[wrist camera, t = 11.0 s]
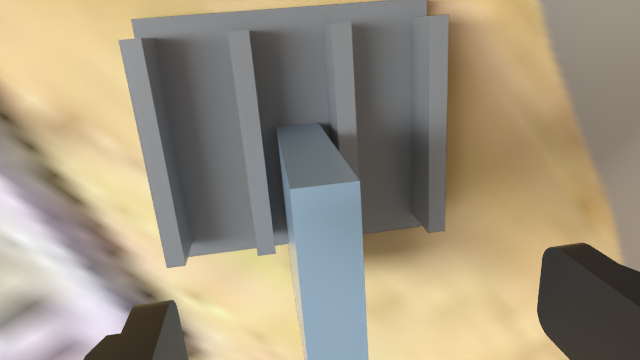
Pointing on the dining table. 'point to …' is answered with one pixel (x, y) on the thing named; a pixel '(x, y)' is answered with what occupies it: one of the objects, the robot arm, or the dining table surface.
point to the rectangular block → (324, 244)
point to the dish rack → (287, 116)
